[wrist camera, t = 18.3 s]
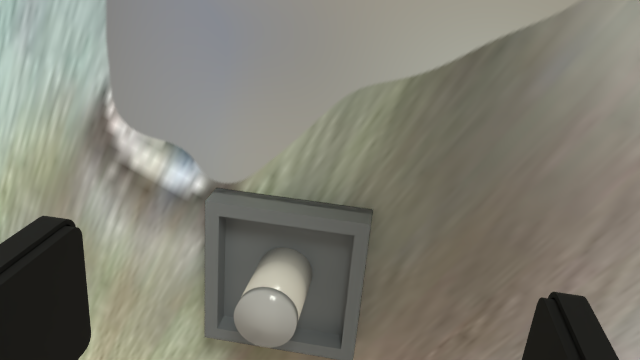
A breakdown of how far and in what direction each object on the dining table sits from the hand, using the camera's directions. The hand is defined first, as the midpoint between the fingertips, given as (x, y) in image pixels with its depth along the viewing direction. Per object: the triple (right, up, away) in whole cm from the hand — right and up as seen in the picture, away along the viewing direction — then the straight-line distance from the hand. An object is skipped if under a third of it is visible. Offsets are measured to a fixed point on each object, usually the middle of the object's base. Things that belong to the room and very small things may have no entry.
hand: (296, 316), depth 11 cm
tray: (-2, -5, +40) cm, 40 cm away
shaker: (-3, -6, +39) cm, 39 cm away
